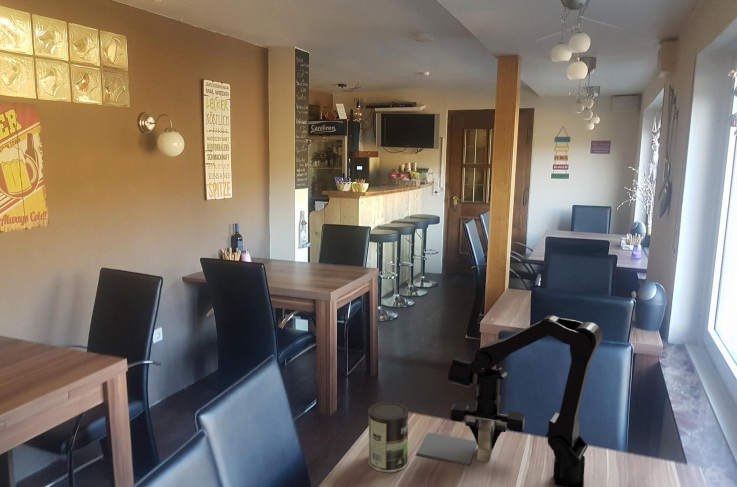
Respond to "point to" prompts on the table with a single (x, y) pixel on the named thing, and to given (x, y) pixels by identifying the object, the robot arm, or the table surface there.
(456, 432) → the table surface
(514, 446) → the table surface
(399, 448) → the coffee can
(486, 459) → the beech board
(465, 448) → the slate mat
